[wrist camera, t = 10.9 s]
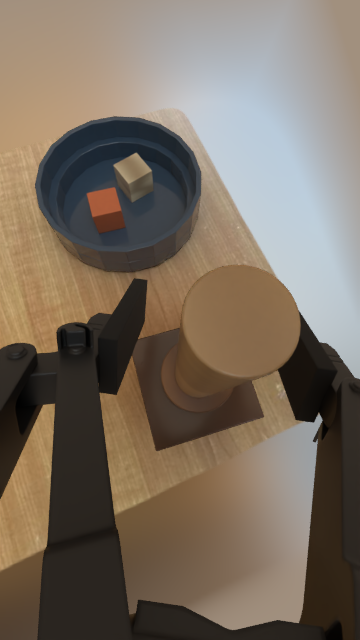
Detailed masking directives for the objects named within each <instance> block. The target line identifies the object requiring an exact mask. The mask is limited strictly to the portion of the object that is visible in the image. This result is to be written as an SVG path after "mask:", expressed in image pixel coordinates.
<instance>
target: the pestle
mask: <svg viewBox="0 0 360 640" xmlns="http://www.w3.org/2000/svg"><path fill="white" fill-rule="evenodd" d="M300 327H301V324H300V315H299V310H298V308H297V305H296V302H295V301H294V298H293V297H292V295H291V293H290V292H289V290H288V289H287V288H286V287H285V286H284V284H282V283H281V282H280V281H279V280H278V279H277V278H275V277H274V276H273V275H271V274H269V273H268V272H266V271H263V270H261V269H259V268H255V267H252V266H247V265H228V266H223V267H220V268H217V269H214V270H212V271H210V272H208V273H206V274H205V275H203V276H202V277H201V278H200V279H198V280H197V281H196V282H195V284H194V285H193V286H192V287H191V289H190V290H189V292H188V294H187V296H186V298H185V300H184V304H183V308H182V314H181V323H180V332H179V340H178V343H177V344H176V345H174V346H173V347H172V348H171V349H170V350H169V351H168V353H167V354H166V356H165V358H164V360H163V363H162V367H161V381H162V385H163V388H164V391H165V393H166V395H167V397H168V398H169V400H170V401H171V402H172V403H173V404H174V405H175V406H177V407H178V408H180V409H182V410H185V411H188V412H193V413H205V412H209V411H212V410H214V409H216V408H218V407H220V406H221V405H222V404H223V403H224V402H225V401H226V400H227V399H228V398H229V396H230V395H231V393H232V391H233V388H234V387H235V386H238V385H241V384H244V383H247V382H250V381H253V380H256V379H259V378H261V377H264V376H267V375H269V374H271V373H273V372H275V371H277V370H278V369H279V368H281V367H282V366H283V365H284V364H285V363H286V362H287V361H288V360H289V359H290V357H291V356H292V355H293V353H294V351H295V349H296V347H297V344H298V341H299V336H300Z"/></svg>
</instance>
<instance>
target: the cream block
mask: <svg viewBox="0 0 360 640" xmlns="http://www.w3.org/2000/svg"><path fill="white" fill-rule="evenodd" d="M113 166H114V170H115V174H116V179H117V183H118V186H119V187H120V188H121V190H122V191H123V192H124V193H125V194H126V196H127V197H128V198H129V199H130V201H131V202H132V203H133V202H134V201H136V200H138V199H140V198H141V197H143V196H145V195H147V194H148V193H150V192H152V191H153V178H152V170H151V169H150V168H149V167H148V166H147V164H146V163H145V162H144V161H143V160H142V159H141V157H140V156H139V155H138V154H137V153H135V154H133V155H131V156H129V157H127V158H125V159H124V160H122V161H120V162H118V163H116V164H114V165H113Z"/></svg>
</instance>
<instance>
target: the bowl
mask: <svg viewBox="0 0 360 640" xmlns="http://www.w3.org/2000/svg"><path fill="white" fill-rule="evenodd" d="M135 153H137V154H138V155H139V156H140V157H141V159H142V160H143V161H144V162H145V163H146V164H147V166H148V167H149V168H150V169H151V170H152V178H153V191H152V192H150V193H148V194H147V195H145V196H143V197H141V198H140V199H138V200H136V201H134V202H133V203H132V202H131V201H130V199H129V198H128V197H127V196H126V194H125V193H124V192H123V191H122V190H121V188H120V187H119V186H118V183H117V179H116V174H115V170H114V166H113V165H114V164H116V163H118V162H120V161H122V160H124V159H125V158H127V157H129V156H131V155H133V154H135ZM113 187H115V189H116V193H117V196H118V200H119V203H120V207H121V211H122V215H123V219H124V223H125V228H122V229H117V230H113V231H109V232H104V233H100V234H99V232H98V230H97V227H96V225H95V222H94V220H93V217H92V214H91V210H90V206H89V201H88V197H87V193H90V192H95V191H99V190H104V189H109V188H113ZM35 189H36V194H37V199H38V205H39V208H40V210H41V211H42V213H43V215H44V216H45V218H46V219H47V221H48V222H49V224H50V225H51V227H52V228H53V230H54V232H55V233H56V235H57V236H58V238H59V239H60V241H61V242H62V244H63V245H64V247H65V248H66V249H67V250H68V251H69V252H70V253H72V254H73V255H74V256H76V257H77V258H78V259H80V260H81V261H82V262H84V263H86V264H89V265H92V266H94V267H97V268H100V269H103V270H106V271H125V272H133V271H137V270H141V269H145V268H149V267H153V266H156V265H158V264H159V263H161V262H163V261H164V260H166V259H168V258H170V257H171V256H173V255H175V254H176V253H177V252H178V250H179V249H180V248H181V247H182V246H183V245H184V244H185V243H186V241H187V240H188V239H189V238H190V236H191V234H192V231H193V229H194V226H195V224H196V221H197V218H198V211H199V203H200V196H201V171H200V168H199V165H198V163H197V160H196V158H195V155H194V152H193V151H192V150H191V149H190V148H189V147H188V145H187V144H186V143H185V142H184V141H183V140H182V138H181V137H180V136H178V135H177V134H175V133H174V132H172V131H170V130H169V129H167V128H166V127H164V126H162V125H161V124H158V123H155V122H151V121H148V120H145V119H141V118H136V117H109V118H103V119H98V120H93V121H89V122H87V123H85V124H83V125H80V126H78V127H76V128H74V129H72V130H70V131H68V132H67V133H66V134H64V135H63V136H62V137H61V138H60V139H58V140H57V141H56V142H55V143H54V144H52V145H51V147H50V148H49V150H48V152H47V153H46V155H45V156H44V158H43V159H42V161H41V163H40V165H39V169H38V174H37V178H36V183H35Z"/></svg>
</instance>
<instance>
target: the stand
mask: <svg viewBox="0 0 360 640" xmlns="http://www.w3.org/2000/svg"><path fill="white" fill-rule="evenodd" d="M179 332H180V328H178V329H174V330H171V331H167V332H163V333H160V334H156V335H152V336H149V337H145V338H141V339H138V340H137V343H136V345H135V348H134V350H133V353H132V356H133V360H134V364H135V368H136V372H137V376H138V380H139V384H140V388H141V392H142V396H143V400H144V404H145V408H146V412H147V416H148V420H149V424H150V428H151V432H152V436H153V440H154V444H155V448H156V451H159V450H163V449H166V448H169V447H172V446H175V445H178V444H181V443H184V442H188V441H191V440H194V439H197V438H200V437H203V436H206V435H210V434H213V433H216V432H219V431H222V430H225V429H228V428H231V427H235V426H238V425H241V424H244V423H247V422H250V421H253V420H256V419H260V418H263V417H264V415H263V412H262V409H261V406H260V403H259V400H258V398H257V395H256V392H255V389H254V386H253V384H252V381H250V382H247V383H244V384H241V385H238V386H235V387H234V388H233V391H232V393H231V395H230V396H229V398H228V399H227V400H226V401H225V402H224V403H223V404H222V405H221V406H220V407H218V408H216V409H214V410H212V411H209V412H205V413H193V412H188V411H185V410H182V409H180V408H178V407H177V406H175V405H174V404H173V403H172V402H171V401H170V400H169V398H168V397H167V395H166V393H165V391H164V388H163V385H162V381H161V367H162V363H163V360H164V358H165V356H166V354H167V353H168V351H169V350H170V349H171V348H172V347H173V346H174V345H176V344H177V343H178V340H179Z"/></svg>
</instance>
